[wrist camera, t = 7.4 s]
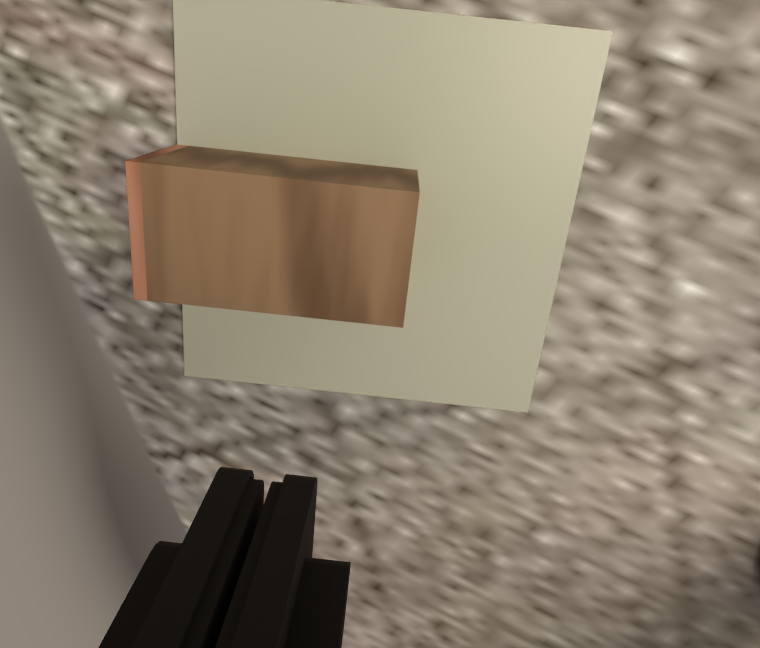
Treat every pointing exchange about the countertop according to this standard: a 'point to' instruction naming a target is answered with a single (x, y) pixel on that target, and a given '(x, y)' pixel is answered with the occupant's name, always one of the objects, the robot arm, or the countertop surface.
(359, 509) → the countertop surface
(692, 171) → the countertop surface
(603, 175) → the countertop surface
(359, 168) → the copper block
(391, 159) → the mat
